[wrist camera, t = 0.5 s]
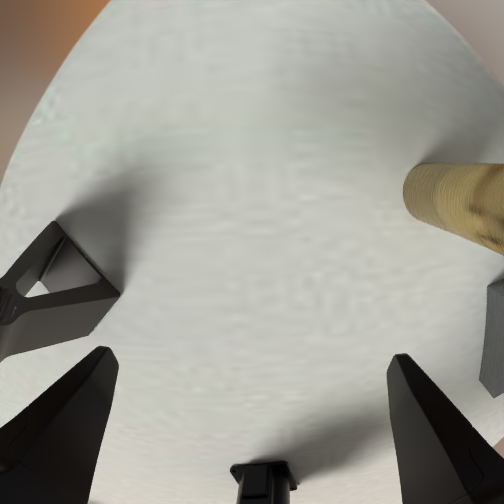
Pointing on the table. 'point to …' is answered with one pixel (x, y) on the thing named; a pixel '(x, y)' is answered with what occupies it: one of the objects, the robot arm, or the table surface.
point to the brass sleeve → (459, 200)
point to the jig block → (494, 341)
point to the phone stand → (51, 295)
